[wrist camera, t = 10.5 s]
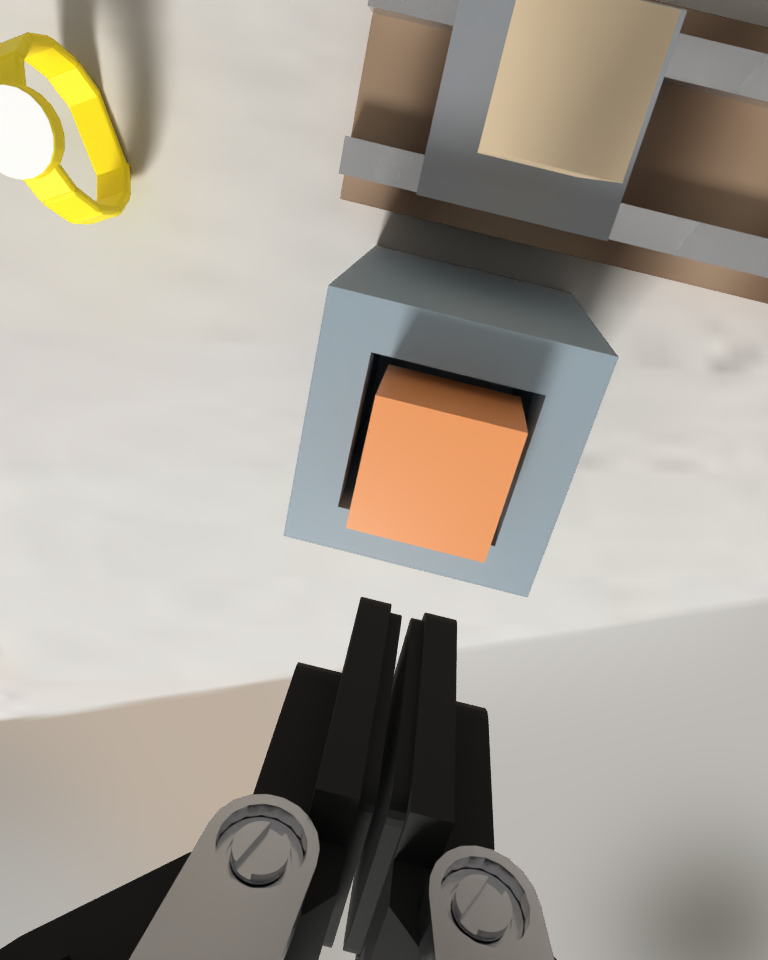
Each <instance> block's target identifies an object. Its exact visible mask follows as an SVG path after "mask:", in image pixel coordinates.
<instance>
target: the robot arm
mask: <svg viewBox="0 0 768 960" xmlns="http://www.w3.org/2000/svg"><path fill="white" fill-rule="evenodd" d="M390 612H391V604H388V603H384V602H380V601H376V600H372V599H368V598H364V597H361V599H360V603H359V607H358V611H357V615H356V619H355V623H354V627H353V631H352V635H351V639H350V643H349V647H348V651H347V655H346V659H345V663H344V667H343V671H342V673H340V672H336V671H332V670H328V669H324V668H319V667H315V666H311V665H307V664H303V663H299V662H298V664H297V666H296V669H295V671H294V674H293V677H292V680H291V683H290V686H289V689H288V692H287V695H286V698H285V701H284V704H283V707H282V710H281V713H280V716H279V719H278V722H277V725H276V728H275V731H274V734H273V737H272V740H271V743H270V746H269V749H268V752H267V755H266V758H265V761H264V764H263V767H262V770H261V773H260V775H259V778H258V781H257V784H256V787H255V790H254V793H253V795H248V796H245V797H241V798H238V799H235V800H233V801H231V802H230V803H228V804H227V805H225V806H224V807H222V808H221V809H220V810H219V811H218V812H217V813H216V814H215V816H214V817H213V818H212V819H211V821H210V822H209V823H208V825H207V827H206V828H205V830H204V832H203V833H202V835H201V837H200V839H199V840H198V842H197V844H196V846H195V847H194V849H193V851H192V852H190V853H188V854H185V855H183V856H182V857H180V858H178V859H176V860H174V861H171V862H169V863H167V864H165V865H163V866H161V867H160V868H157V869H155V870H153V871H151V872H149V873H147V874H145V875H143V876H141V877H139V878H137V879H135V880H133V881H131V882H129V883H127V884H125V885H123V886H121V887H119V888H117V889H115V890H113V891H111V892H109V893H107V894H105V895H103V896H101V897H99V898H97V899H95V900H93V901H91V902H89V903H87V904H85V905H83V906H81V907H79V908H77V909H75V910H73V911H71V912H69V913H66V914H65V915H63V916H61V917H58V918H56V919H55V920H53V921H50V922H48V923H46V924H44V925H42V926H40V927H38V928H36V929H34V930H32V931H30V932H28V933H26V934H24V935H22V936H20V937H19V938H17V939H15V940H14V941H12V942H11V943H9V944H8V945H6V946H5V947H3V948H2V949H0V960H318V959H319V955H320V952H321V949H322V945H323V946H327V947H332V945H333V942H334V939H335V936H336V932H337V929H338V926H339V923H340V919H341V916H342V913H343V910H344V906H345V903H346V899H347V897H348V893H349V890H350V887H351V883H352V880H353V887H352V892H351V899H350V906H349V912H348V918H347V925H346V932H345V939H344V947H343V950H344V951H347V952H351V953H355V954H356V959H355V960H556V959H555V957H554V956H553V952H552V948H551V944H550V940H549V936H548V932H547V928H546V924H545V920H544V916H543V912H542V908H541V905H540V901H539V899H538V896H537V894H536V891H535V889H534V887H533V885H532V884H531V882H530V881H529V879H528V878H527V877H526V875H525V874H524V872H523V871H522V870H521V869H520V868H519V867H517V866H516V865H515V864H514V863H513V862H512V861H511V860H510V859H508V858H507V857H505V856H503V855H501V854H499V853H498V852H496V851H494V830H493V810H492V790H491V769H490V768H491V767H490V747H489V746H490V745H489V724H488V713H487V711H486V709H485V708H482V707H477V706H473V705H469V704H465V703H461V702H457V701H456V661H457V621H456V620H453V619H449V618H445V617H441V616H437V615H433V614H429V613H425V614H424V616H423V619H422V620H418V619H413V618H411V620H410V622H409V626H408V629H407V633H406V636H405V639H404V643H403V646H402V650H401V653H400V657H399V660H398V664H397V667H396V670H395V663H396V656H397V648H398V641H399V634H400V626H401V619H402V616H401V615H397V614H393V613H390ZM394 670H395V674H394ZM353 877H354V879H353Z"/></svg>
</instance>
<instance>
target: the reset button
mask: <svg viewBox="0 0 768 960" xmlns="http://www.w3.org/2000/svg"><path fill="white" fill-rule="evenodd" d="M527 435H528V430H527V425H526V420H525V415H524V410H523V405H522V400H521V397H519V396H515V395H511V394H507V393H503V392H499V391H495V390H491V389H487V388H483V387H479V386H475V385H471V384H467V383H463V382H459V381H455V380H451V379H446V378H442V377H438V376H434V375H430V374H426V373H422V372H418V371H414V370H410V369H406V368H402V367H398V366H394V365H390V364H388V367H387V369H386V371H385V374H384V376H383V379H382V381H381V383H380V386H379V388H378V390H377V393H376V395H375V400H374V404H373V408H372V413H371V417H370V422H369V426H368V431H367V435H366V440H365V444H364V449H363V453H362V458H361V462H360V467H359V471H358V475H357V480H356V484H355V489H354V493H353V498H352V502H351V507H350V511H349V516H348V520H347V525H346V528H348V529H352V530H356V531H360V532H364V533H367V534H371V535H375V536H379V537H383V538H387V539H391V540H395V541H399V542H403V543H407V544H411V545H415V546H419V547H423V548H427V549H431V550H435V551H439V552H443V553H447V554H451V555H455V556H459V557H463V558H467V559H471V560H475V561H479V562H483V563H485V560H486V557H487V554H488V552H489V549H490V546H491V543H492V540H493V537H494V534H495V531H496V528H497V525H498V522H499V519H500V516H501V513H502V510H503V507H504V504H505V501H506V498H507V495H508V492H509V489H510V486H511V483H512V480H513V477H514V474H515V471H516V468H517V465H518V462H519V459H520V456H521V453H522V450H523V447H524V444H525V441H526V438H527Z"/></svg>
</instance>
